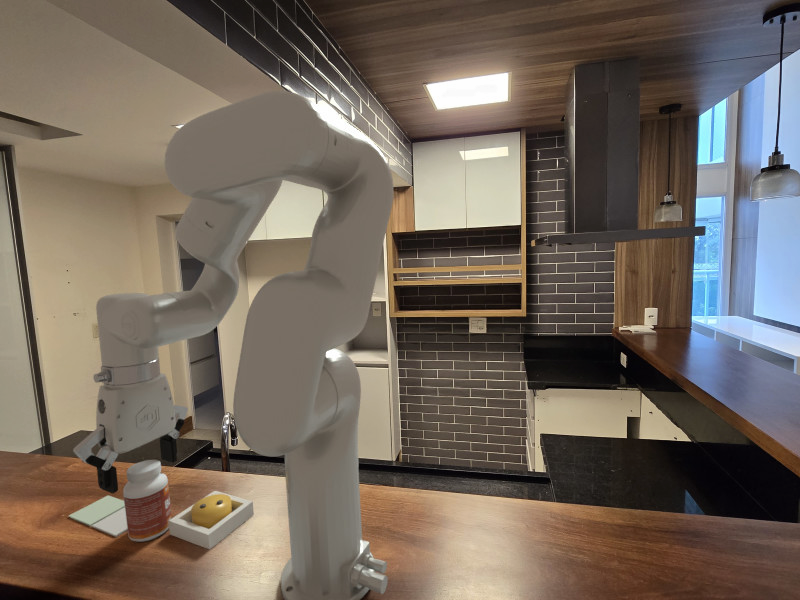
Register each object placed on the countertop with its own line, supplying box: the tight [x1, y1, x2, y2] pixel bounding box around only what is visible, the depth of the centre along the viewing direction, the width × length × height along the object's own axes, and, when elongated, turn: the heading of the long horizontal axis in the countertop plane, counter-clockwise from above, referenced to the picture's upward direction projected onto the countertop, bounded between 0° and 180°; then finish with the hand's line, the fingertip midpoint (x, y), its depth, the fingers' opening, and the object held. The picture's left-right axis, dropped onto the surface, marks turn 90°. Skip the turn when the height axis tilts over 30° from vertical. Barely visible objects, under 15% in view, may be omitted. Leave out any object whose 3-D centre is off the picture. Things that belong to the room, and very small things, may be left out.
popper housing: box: [168, 490, 255, 550], centre depth 67 cm, size 9×9×2 cm
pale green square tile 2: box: [68, 495, 125, 527], centre depth 72 cm, size 6×6×1 cm
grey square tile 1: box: [91, 507, 128, 538], centre depth 70 cm, size 6×6×1 cm
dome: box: [191, 494, 232, 529], centre depth 67 cm, size 6×6×3 cm
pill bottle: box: [122, 459, 173, 543], centre depth 66 cm, size 6×6×11 cm
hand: (141, 474), depth 66 cm, fingers open, 9 cm apart
